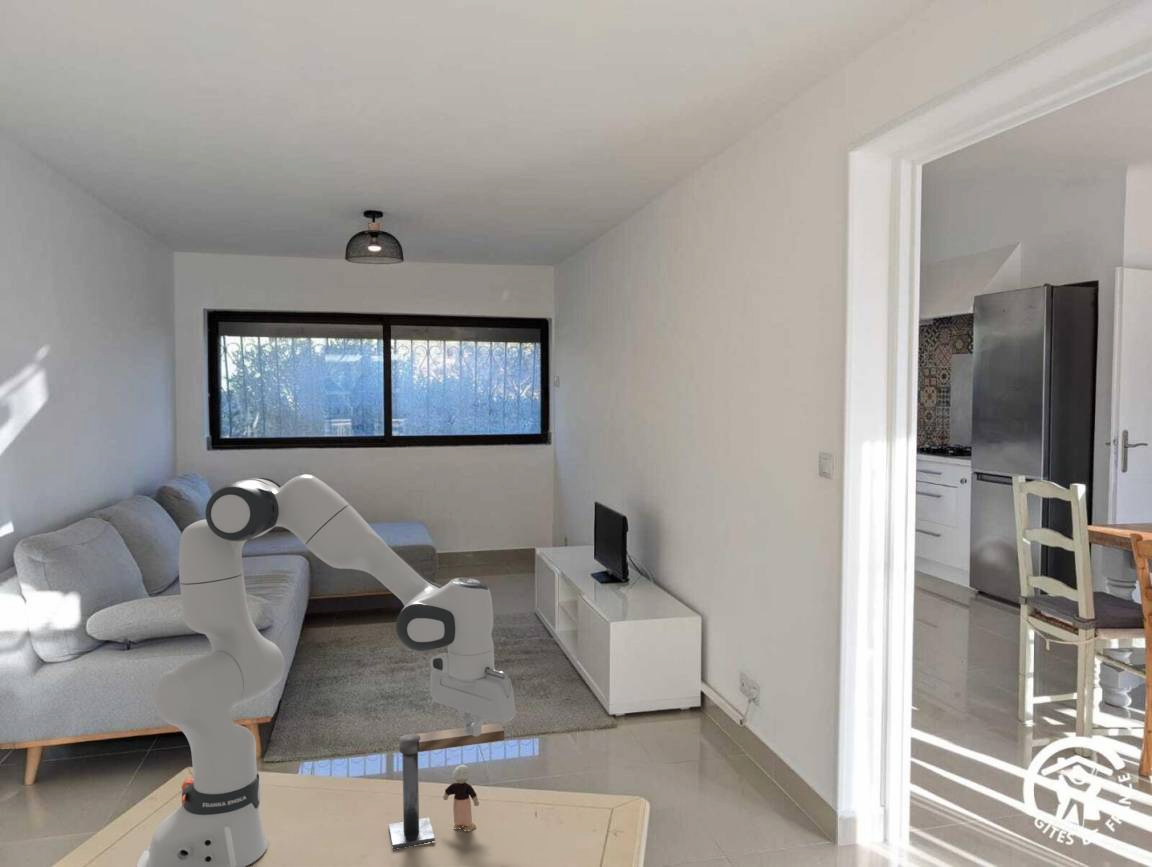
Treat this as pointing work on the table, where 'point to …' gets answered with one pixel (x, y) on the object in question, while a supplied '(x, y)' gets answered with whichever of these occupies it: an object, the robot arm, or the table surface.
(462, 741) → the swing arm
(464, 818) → the grandmother figurine
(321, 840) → the table surface
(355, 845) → the table surface
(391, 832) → the arm post
